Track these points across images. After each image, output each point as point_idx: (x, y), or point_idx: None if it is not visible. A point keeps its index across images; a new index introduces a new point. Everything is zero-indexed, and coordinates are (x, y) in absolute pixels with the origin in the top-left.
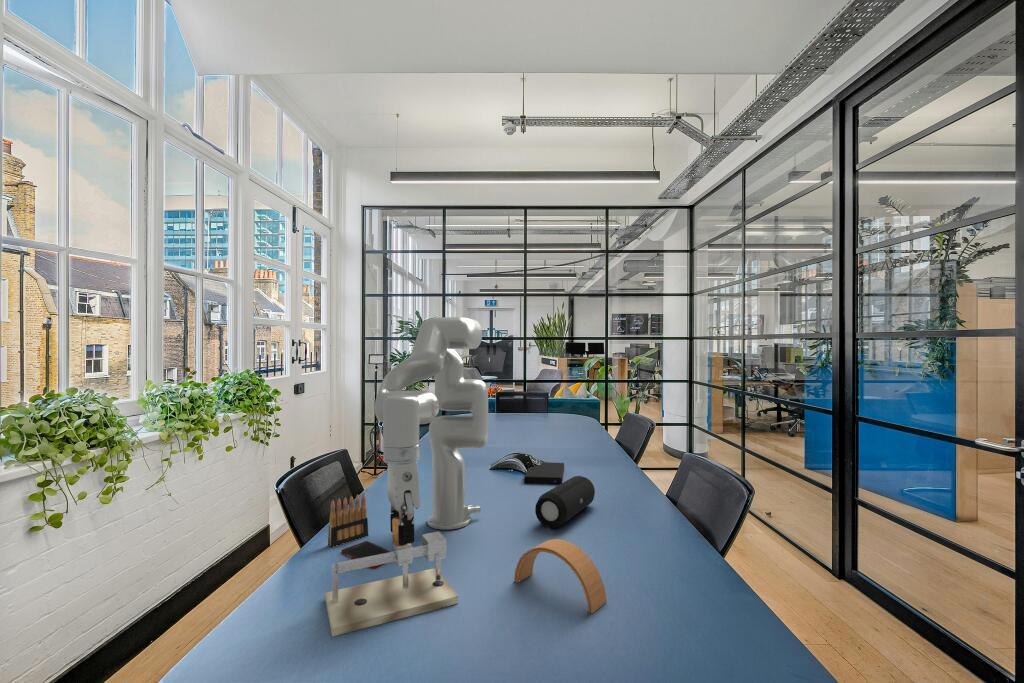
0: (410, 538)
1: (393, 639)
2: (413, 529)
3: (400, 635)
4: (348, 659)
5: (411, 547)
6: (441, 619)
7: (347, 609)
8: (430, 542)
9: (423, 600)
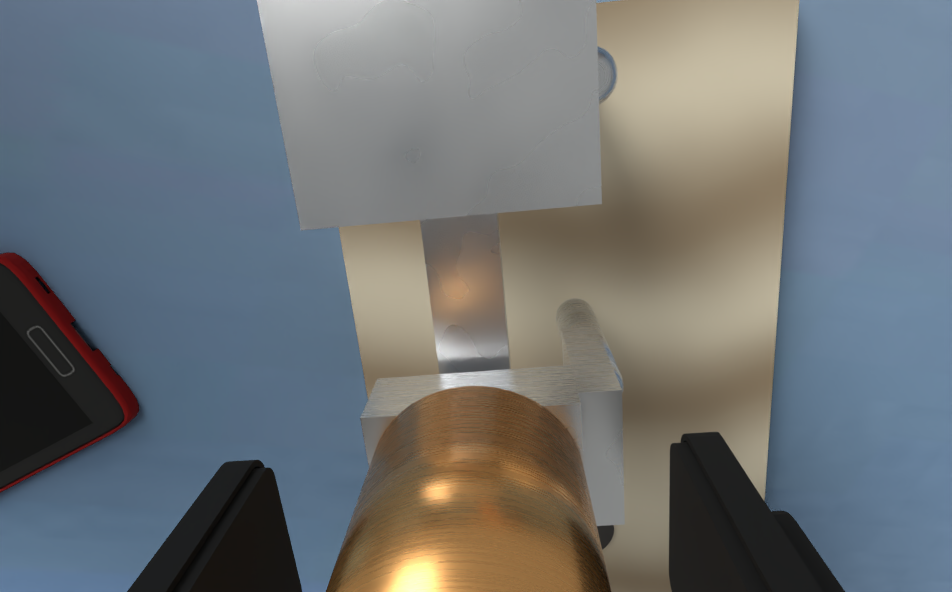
0: (793, 526)
1: (914, 399)
2: (795, 558)
3: (902, 366)
4: (938, 568)
5: (614, 399)
6: (888, 138)
7: (624, 583)
8: (600, 175)
9: (730, 222)
